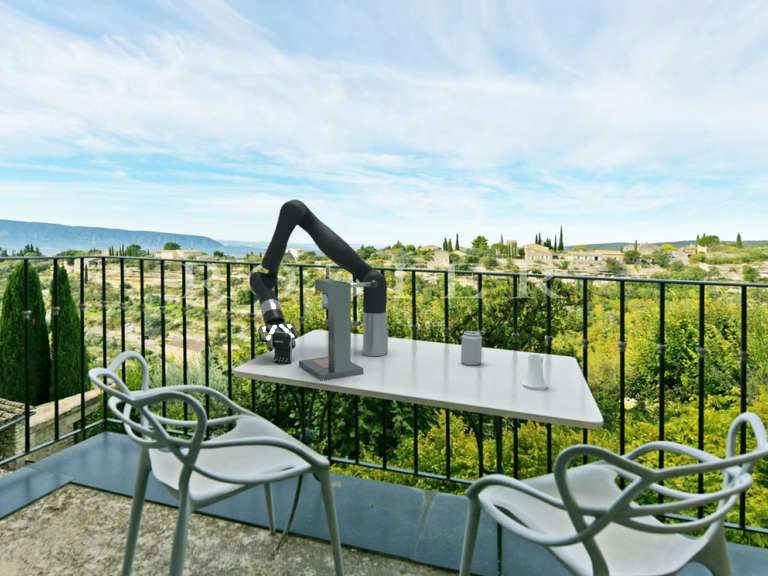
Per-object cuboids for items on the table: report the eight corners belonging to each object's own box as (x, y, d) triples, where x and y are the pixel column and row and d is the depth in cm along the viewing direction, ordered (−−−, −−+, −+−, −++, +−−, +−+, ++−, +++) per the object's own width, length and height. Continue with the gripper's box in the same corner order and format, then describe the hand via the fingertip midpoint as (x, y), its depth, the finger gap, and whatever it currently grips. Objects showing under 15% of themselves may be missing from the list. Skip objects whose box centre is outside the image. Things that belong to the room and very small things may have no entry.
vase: (541, 382, 163) (543, 353, 162) (550, 390, 155) (551, 359, 154) (519, 382, 162) (520, 353, 161) (526, 390, 155) (528, 359, 154)
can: (483, 362, 187) (484, 331, 186) (478, 367, 180) (479, 335, 179) (464, 360, 190) (464, 329, 189) (458, 364, 183) (459, 333, 182)
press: (363, 356, 193) (364, 276, 189) (390, 369, 176) (391, 281, 172) (298, 366, 179) (297, 279, 176) (320, 380, 162) (320, 284, 159)
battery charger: (271, 363, 183) (270, 333, 181) (276, 360, 186) (276, 331, 185) (287, 365, 180) (286, 334, 179) (292, 362, 184) (292, 332, 182)
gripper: (256, 309, 184) (265, 345, 176) (292, 306, 191) (303, 341, 183) (252, 320, 189) (261, 356, 181) (287, 317, 196) (298, 352, 188)
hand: (282, 348), depth 182 cm, fingers open, 8 cm apart
